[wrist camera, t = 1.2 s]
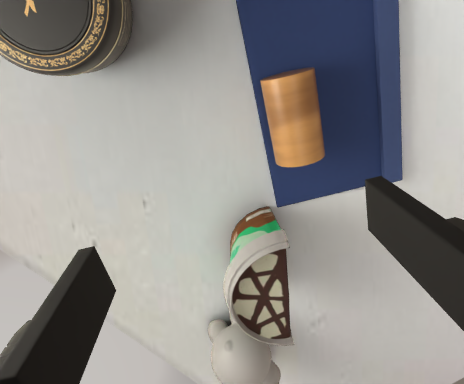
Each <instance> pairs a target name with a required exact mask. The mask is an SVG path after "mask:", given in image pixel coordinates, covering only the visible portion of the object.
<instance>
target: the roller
mask: <svg viewBox="0 0 464 384" xmlns="http://www.w3.org/2000/svg"><path fill="white" fill-rule="evenodd" d="M260 82H261V88H262V93H263V98H264V103H265V109H266V114H267V119H268V124H269V130H270V135H271V140H272V145H273V151H274V156H275V161H276V164H277V165H279V166H282V167H300V166H306V165H309V164H313V163H315V162H317V161H319V160H321V159H322V158H323V157H324V156H325V149H324V141H323V133H322V125H321V117H320V109H319V101H318V93H317V84H316V76H315V68H314V67H309V68H302V69H297V70H292V71H288V72H283V73H280V74H276V75H272V76H269V77H266V78H263V79H261V80H260Z"/></svg>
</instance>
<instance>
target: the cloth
mask: <svg viewBox="0 0 464 384" xmlns="http://www.w3.org/2000/svg"><path fill="white" fill-rule="evenodd" d="M236 3H237V8H238V13H239V18H240V23H241V28H242V33H243V38H244V43H245V48H246V53H247V58H248V63H249V68H250V73H251V78H252V83H253V88H254V93H255V98H256V103H257V108H258V113H259V118H260V123H261V128H262V133H263V138H264V143H265V148H266V153H267V158H268V163H269V168H270V173H271V178H272V183H273V188H274V193H275V198H276V203H277V207H282V206H286V205H290V204H294V203H298V202H302V201H307V200H311V199H315V198H319V197H323V196H327V195H331V194H335V193H339V192H343V191H348V190H352V189H356V188H360V187H364V186H365V180H366V179H370V178H374V177H378V176H382V177H384V178H385V179H387V180H388V181H390V182H391V183H392V182H396V181H400V180H402V138H401V92H400V47H399V2H398V0H236ZM309 67H314V68H315V76H316V84H317V93H318V101H319V109H320V117H321V125H322V133H323V141H324V149H325V156H324V157H323V158H322V159H321V160H319V161H317V162H315V163H313V164H309V165H306V166H300V167H282V166H279V165H277V164H276V161H275V156H274V151H273V145H272V140H271V135H270V130H269V124H268V119H267V114H266V109H265V103H264V98H263V93H262V88H261V82H260V80H261V79H263V78H266V77H269V76H272V75H276V74H280V73H283V72H288V71H292V70H297V69H302V68H309Z"/></svg>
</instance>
